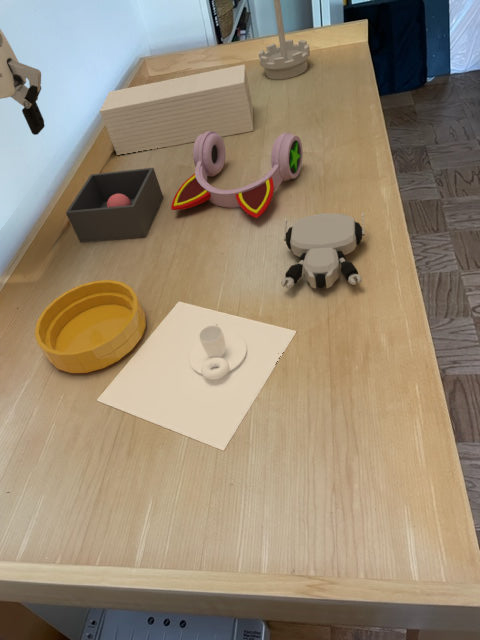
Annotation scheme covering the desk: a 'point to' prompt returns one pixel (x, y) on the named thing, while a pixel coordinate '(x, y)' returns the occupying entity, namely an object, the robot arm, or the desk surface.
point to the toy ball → (118, 200)
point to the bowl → (91, 326)
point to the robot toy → (323, 249)
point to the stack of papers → (178, 110)
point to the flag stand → (284, 53)
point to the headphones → (249, 197)
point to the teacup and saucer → (199, 372)
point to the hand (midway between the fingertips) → (11, 133)
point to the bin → (119, 221)
